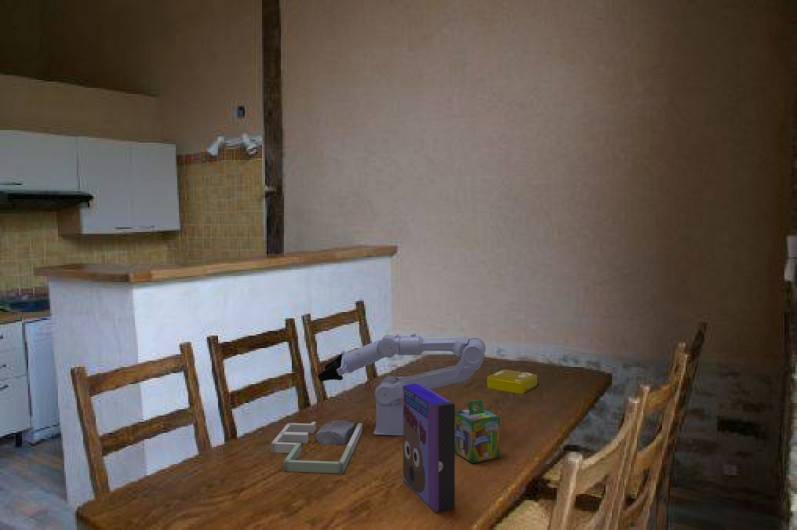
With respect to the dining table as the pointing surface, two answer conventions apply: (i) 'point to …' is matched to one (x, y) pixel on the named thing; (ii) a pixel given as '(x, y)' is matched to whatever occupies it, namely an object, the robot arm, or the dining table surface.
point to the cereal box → (429, 446)
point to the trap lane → (299, 434)
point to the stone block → (336, 432)
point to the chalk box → (477, 433)
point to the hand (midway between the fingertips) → (322, 373)
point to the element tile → (512, 381)
